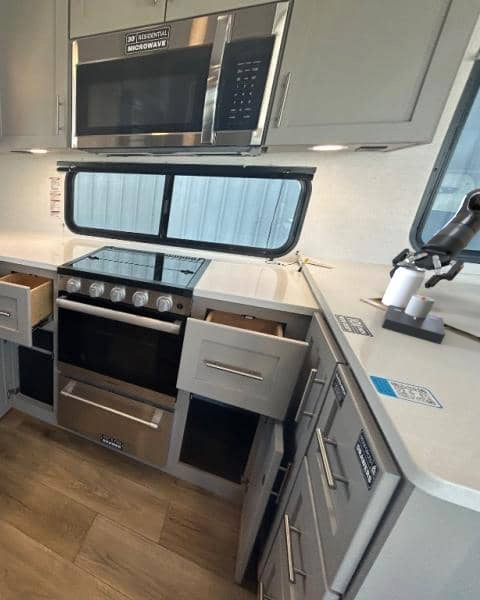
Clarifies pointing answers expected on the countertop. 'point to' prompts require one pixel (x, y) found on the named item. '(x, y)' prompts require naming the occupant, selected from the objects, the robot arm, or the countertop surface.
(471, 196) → the robot arm
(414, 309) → the knob
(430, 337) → the block
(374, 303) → the cork mat
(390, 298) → the can
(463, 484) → the countertop surface
